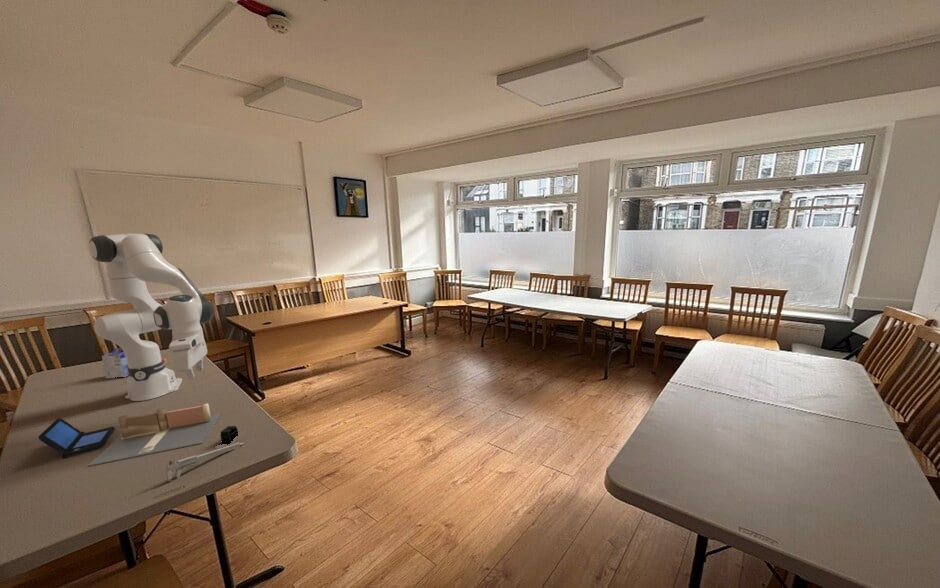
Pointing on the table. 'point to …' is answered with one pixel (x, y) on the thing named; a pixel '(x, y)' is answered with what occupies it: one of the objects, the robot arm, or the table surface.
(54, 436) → the handheld game console
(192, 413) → the fence panel
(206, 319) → the robot arm
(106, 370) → the ink cartridge box
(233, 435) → the black angular piece
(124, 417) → the fixed fence
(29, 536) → the table surface
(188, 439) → the board
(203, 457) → the caliper
